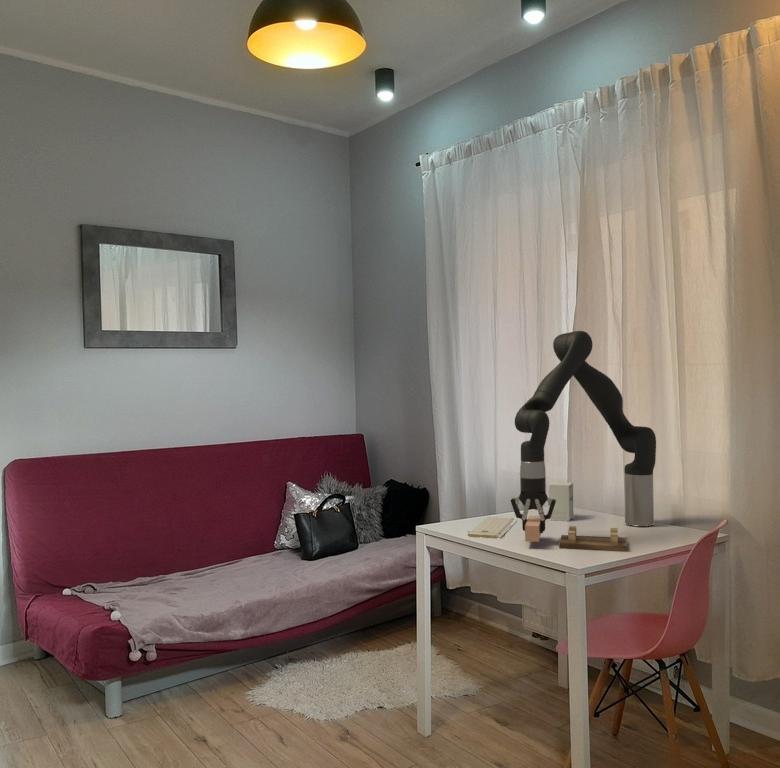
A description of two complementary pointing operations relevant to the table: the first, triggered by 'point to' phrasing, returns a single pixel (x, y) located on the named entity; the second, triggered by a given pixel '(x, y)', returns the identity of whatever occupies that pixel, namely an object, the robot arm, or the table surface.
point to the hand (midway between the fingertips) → (533, 532)
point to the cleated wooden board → (593, 541)
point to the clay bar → (532, 529)
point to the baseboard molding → (491, 528)
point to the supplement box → (562, 500)
